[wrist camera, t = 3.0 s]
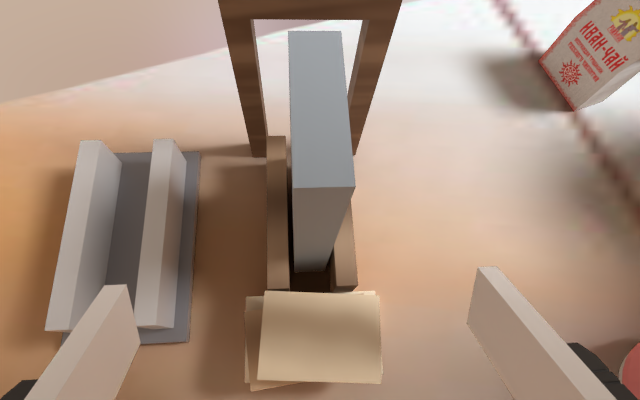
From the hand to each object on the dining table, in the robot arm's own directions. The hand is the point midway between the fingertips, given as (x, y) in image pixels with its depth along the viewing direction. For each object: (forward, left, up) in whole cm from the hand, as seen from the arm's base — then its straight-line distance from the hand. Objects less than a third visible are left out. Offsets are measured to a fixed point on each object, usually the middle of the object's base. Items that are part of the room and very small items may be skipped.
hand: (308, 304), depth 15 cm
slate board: (+6, -5, -17) cm, 19 cm away
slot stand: (+14, +7, -17) cm, 23 cm away
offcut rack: (+5, -4, -17) cm, 18 cm away
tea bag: (+2, -37, -17) cm, 41 cm away
